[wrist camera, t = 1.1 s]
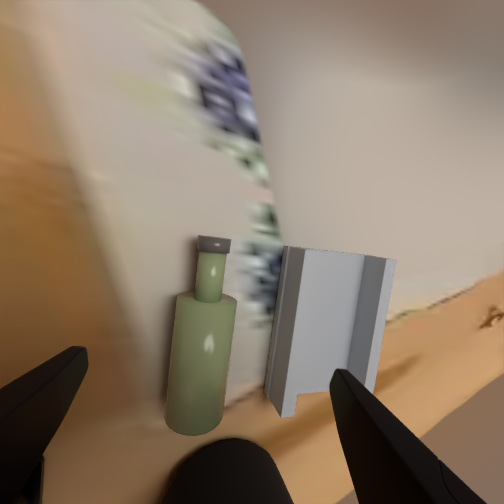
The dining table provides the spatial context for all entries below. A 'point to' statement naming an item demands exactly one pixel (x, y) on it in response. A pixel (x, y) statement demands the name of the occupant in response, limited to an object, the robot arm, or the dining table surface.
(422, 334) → the dining table surface
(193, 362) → the oil bottle
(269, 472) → the coffee jar
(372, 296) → the u rest
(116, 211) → the dining table surface
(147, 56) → the dining table surface
